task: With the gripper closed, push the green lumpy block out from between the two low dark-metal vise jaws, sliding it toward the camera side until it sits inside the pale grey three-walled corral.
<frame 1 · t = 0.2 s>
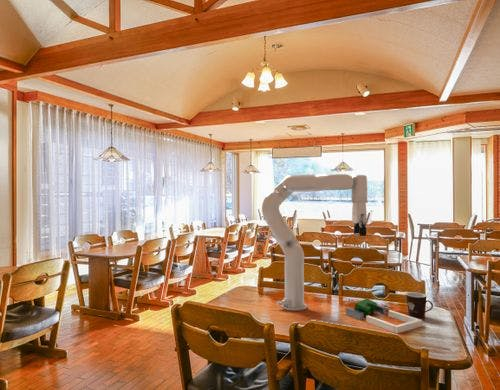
hand: (360, 234, 180), 36 cm above the table, tool pointing down, fingers open, 9 cm apart
green lumpy block: (365, 314, 171), on the table
vise: (365, 314, 171), on the table
coffee mug: (418, 318, 165), on the table
corral: (392, 323, 158), on the table
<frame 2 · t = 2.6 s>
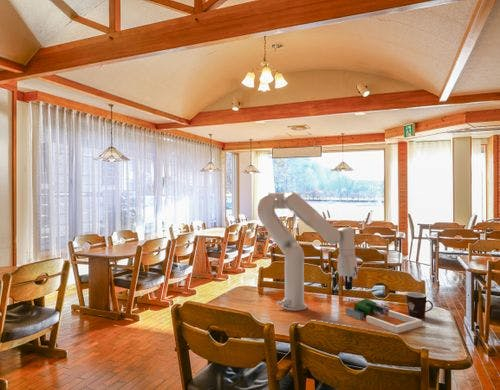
hand: (348, 289, 181), 9 cm above the table, tool pointing down, fingers closed
nothing on the table moved.
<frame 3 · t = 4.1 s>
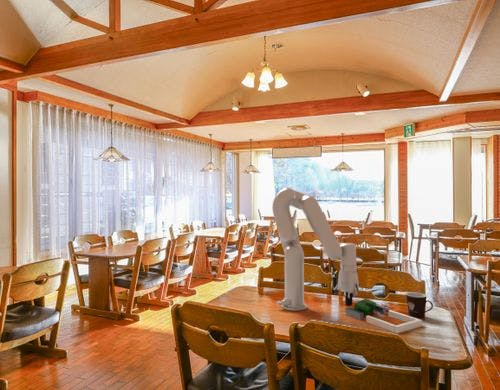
hand: (348, 305, 180), 1 cm above the table, tool pointing down, fingers closed
nothing on the table moved.
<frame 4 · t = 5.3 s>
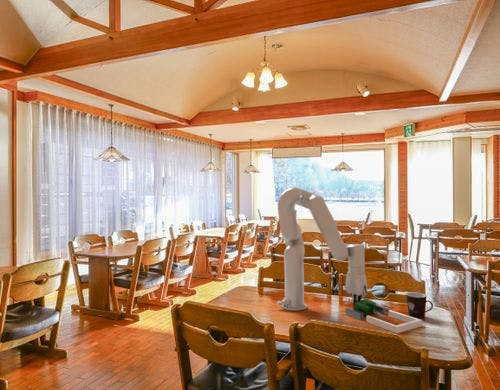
hand: (357, 307, 176), 1 cm above the table, tool pointing down, fingers closed
green lumpy block: (365, 314, 171), on the table, touching gripper
everything else where it was.
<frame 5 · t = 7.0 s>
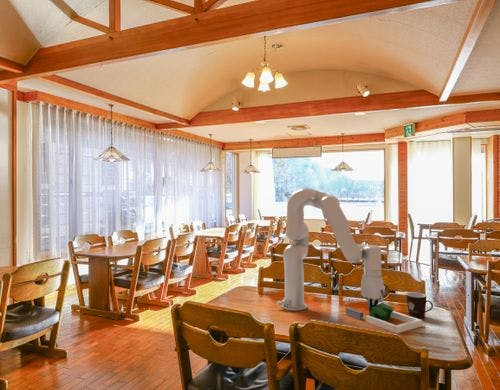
hand: (373, 312, 167), 2 cm above the table, tool pointing down, fingers closed
green lumpy block: (381, 319, 163), on the table, touching gripper
everything else where it was.
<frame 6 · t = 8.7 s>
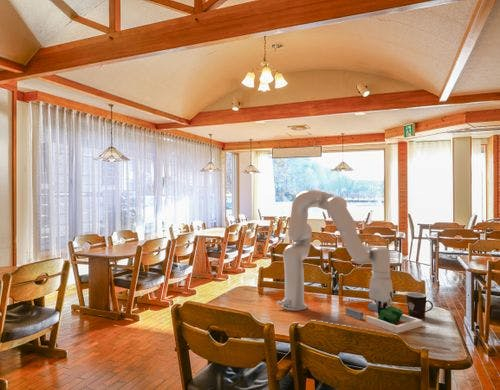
hand: (381, 315, 163), 2 cm above the table, tool pointing down, fingers closed
green lumpy block: (390, 323, 158), on the table, touching gripper
everything else where it was.
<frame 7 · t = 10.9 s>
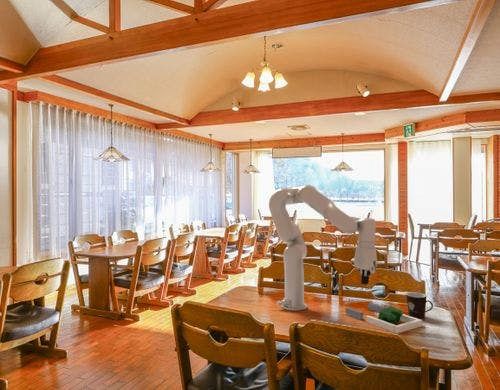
hand: (364, 283, 170), 14 cm above the table, tool pointing down, fingers closed
green lumpy block: (390, 323, 158), on the table
everything else where it was.
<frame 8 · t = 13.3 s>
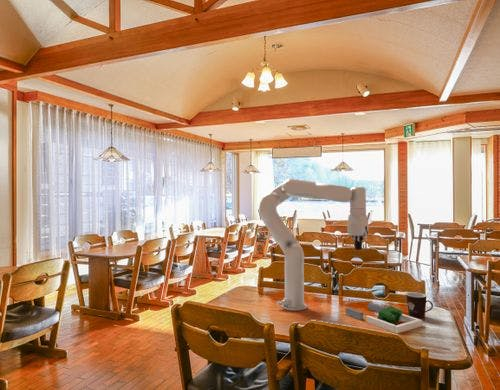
hand: (358, 249, 180), 29 cm above the table, tool pointing down, fingers closed
nothing on the table moved.
at the end: green lumpy block inside the target area on the corral (1.5 cm from its centre), point 0.0 cm above the corral's base; green lumpy block moved 13.8 cm from its start; the gripper is holding nothing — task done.
